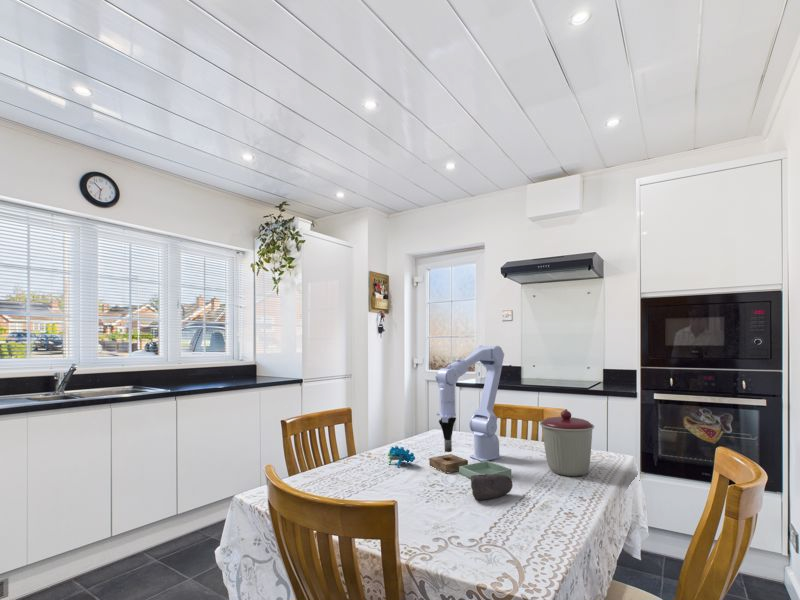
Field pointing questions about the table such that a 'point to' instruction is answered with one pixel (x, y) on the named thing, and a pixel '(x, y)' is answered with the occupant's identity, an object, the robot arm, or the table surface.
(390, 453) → the blue bumpy piece
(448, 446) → the pin
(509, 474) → the tray
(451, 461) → the block
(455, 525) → the table surface
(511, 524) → the table surface
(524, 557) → the table surface
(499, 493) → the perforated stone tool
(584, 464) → the canister
